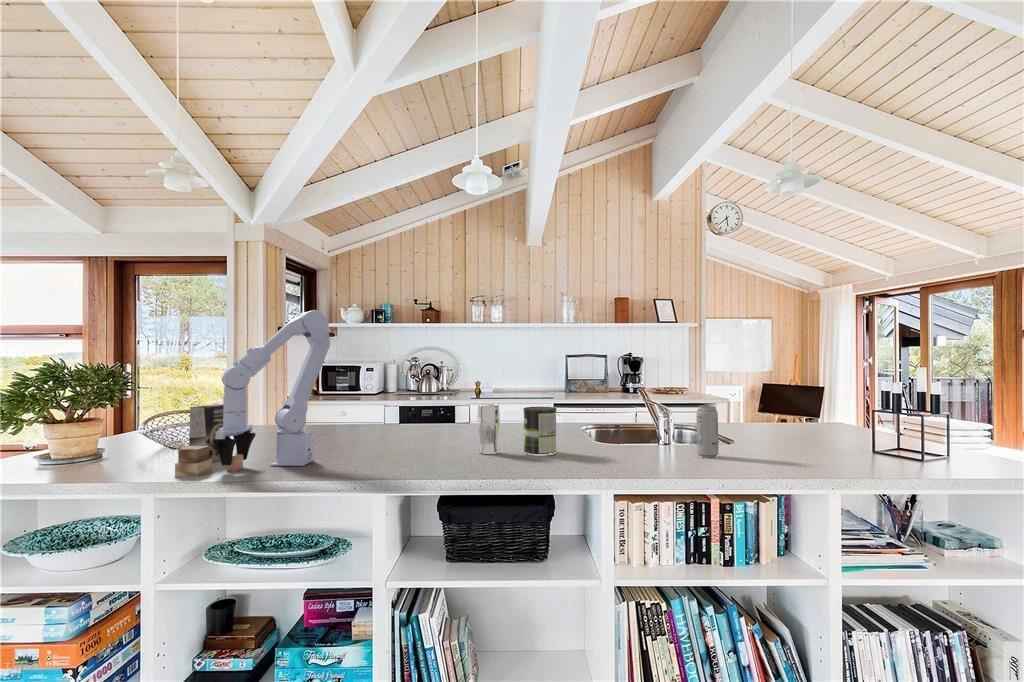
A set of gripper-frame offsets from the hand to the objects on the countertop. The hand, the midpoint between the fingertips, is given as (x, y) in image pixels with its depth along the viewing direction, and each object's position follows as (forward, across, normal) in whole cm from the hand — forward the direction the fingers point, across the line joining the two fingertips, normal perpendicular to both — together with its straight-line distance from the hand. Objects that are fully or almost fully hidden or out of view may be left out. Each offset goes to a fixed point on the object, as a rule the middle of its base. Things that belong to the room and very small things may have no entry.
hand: (234, 462), depth 147 cm
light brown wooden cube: (+2, 0, 0) cm, 2 cm away
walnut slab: (-1, +5, -8) cm, 9 cm away
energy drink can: (+2, -23, +132) cm, 134 cm away
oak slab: (+2, +5, -8) cm, 10 cm away
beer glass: (+2, -27, +66) cm, 71 cm away
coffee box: (+2, -13, -15) cm, 20 cm away
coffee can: (+2, -27, +82) cm, 86 cm away
